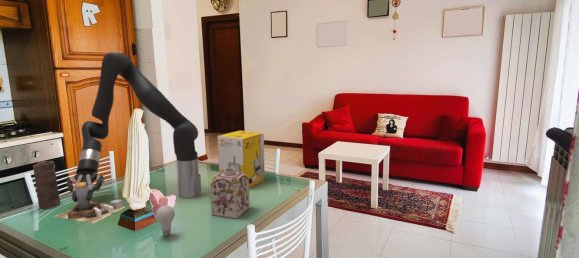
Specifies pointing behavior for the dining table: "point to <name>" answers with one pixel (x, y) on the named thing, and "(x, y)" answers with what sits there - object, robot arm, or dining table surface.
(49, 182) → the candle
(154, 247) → the dining table surface
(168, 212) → the lightbulb
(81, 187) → the connector
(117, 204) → the cable route
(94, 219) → the board
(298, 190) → the dining table surface
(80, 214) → the holder
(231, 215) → the decorative jar
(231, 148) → the packaging box
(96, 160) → the robot arm
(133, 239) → the dining table surface
